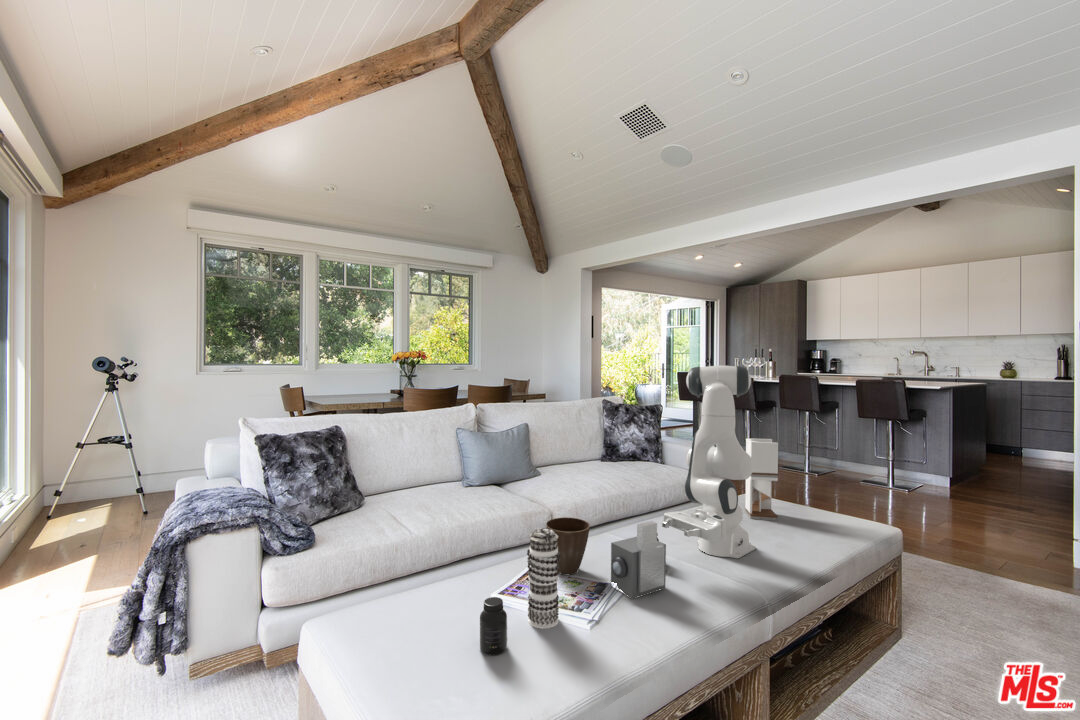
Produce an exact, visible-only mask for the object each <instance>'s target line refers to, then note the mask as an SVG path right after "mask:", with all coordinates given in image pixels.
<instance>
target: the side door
mask: <svg viewBox="0 0 1080 720" xmlns="http://www.w3.org/2000/svg"><path fill="white" fill-rule="evenodd" d="M657 533H658V523H657V522H656V521H655V522H654V521H652V520H649V521H646V522H645V521H644V522H641V523H637V525H636V537H637V551H638V592H640V593H641V592H644V591H647V590H650V589H653V588H657V587H660V586H663V585H664V551H665V546H664V545H660V546H657V538H658V536H657Z"/></svg>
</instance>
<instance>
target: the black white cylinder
mask: <svg viewBox="0 0 1080 720" xmlns="http://www.w3.org/2000/svg"><path fill="white" fill-rule="evenodd" d="M528 537H529V539H530V544H529V549H527V551H526V552H527V553H526V555H527V556H528V557H527V562H526V563H527V569H528V570H527V575H528V581H529V589H528V590H529V593H528V597H527V598H528V602H527V604H528V608H527V612H528V613H527V617H528V619H527V620H528V621H527V622H528V624H529V625H530V626H532V627H533V628H537V629H541V630H542V629H543V630H544V629H545V630H546V629H550V628H551V629H552V628H553V627H555V626H557V625H558V623H559V600H560V599H559V594H558V590H559V589H558V581H559V580H560V579H559V575H560V573H559V571H558V569H559V568H560V567H559V565H558V564H557V563H558V562H560V558H559V556H560V552H558V546H557V538H558V535H557V534H555V532H554V531H553V530H551V529H548V528H546V527H540V528H536V529H534V530H533V531H532V533H530V534H529V535H528Z"/></svg>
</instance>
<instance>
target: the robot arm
mask: <svg viewBox="0 0 1080 720" xmlns="http://www.w3.org/2000/svg"><path fill="white" fill-rule="evenodd" d="M685 383H686V387H687V389H688V392H689V393H690V394H691V395H693V396H696V398H698V399H700V396H702V401H701V421H700V425H699V428H698V429H697V431H696V432H695V433H694V435H693V438H692V445H691V448H689V450H688V452H687V453H686V464H687V466H688V473H687V477H686V479H685V484H684V492H685V495H686V497H687V499H688V501H690V502H691V503H693V504H699V505H700V504H702V508H697V509H694V510H693V511H692V513H691V514H690V513H687V512H683V511H679V510H678V511H669V512H664V514H663V519H662V520H663V521H662V522H661V527H663V528H665V529H667V528H670V527H672V528H674V529H676V530H679V531H682V532H683V533H684V534H683V535H684V536H685V537H688V538H690V537H698V538H699V539H697V542H698V543H697V544H698V550H699V549H700V550H699V551H700V552H702V551H703V552H702V553H704V552H705V553H704V554H708V555H711V556H714V557H723V558H724V557H725V558H732V559H733V558H734V559H740V558H742V557H744V556H745V555H747V554H749V553H751V552H753V551H754V550H756V545H755V544H753V543H752V542H750V538H749V534H748V533H749V532H747V530H746V529H745V528H743V527H742V526H741V523H742V521H743V518H744V513H743V511H742V508H741V507H740V506H739V496H738V495H739V493H738V490H737V488H736V486H735V483H733V481H734V480H735V481H742V480H743V481H744V480H745V481H746V479H747V478H749V477H750V476H751V474H752V472H753V469H754V464H753V460H752V458H751V457H750V455H749V454H747V453H746V450H744V449H743V447H742V445H741V444H740V442H739V440H738V438H737V435H736V406H735V399H734V395H735V396H736V398H739V397H740V396H742V395H745V394H746V393H748V392H749V390H750V388H751V385H752V378H751V374H750V372H749V370H748V369H747V368H746V367H744V366H740V365H736V366H733V365H710V366H694V367H692V368H690V369H689V370H688V373H687V375H686V379H685ZM731 480H732V481H731Z"/></svg>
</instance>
